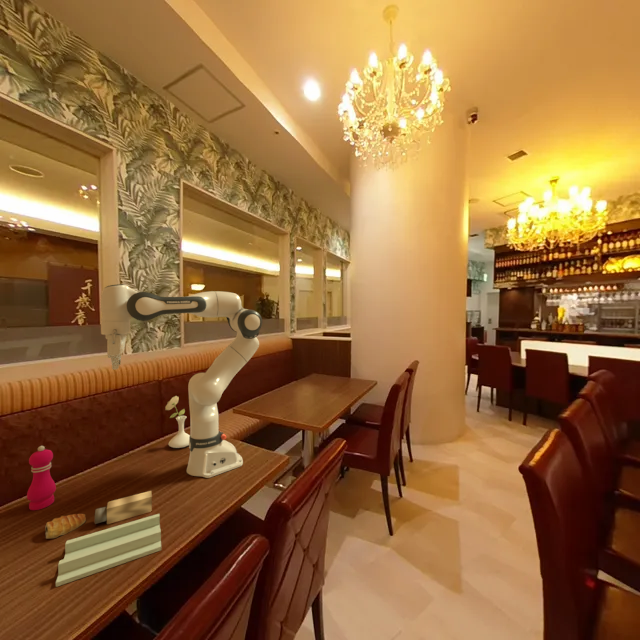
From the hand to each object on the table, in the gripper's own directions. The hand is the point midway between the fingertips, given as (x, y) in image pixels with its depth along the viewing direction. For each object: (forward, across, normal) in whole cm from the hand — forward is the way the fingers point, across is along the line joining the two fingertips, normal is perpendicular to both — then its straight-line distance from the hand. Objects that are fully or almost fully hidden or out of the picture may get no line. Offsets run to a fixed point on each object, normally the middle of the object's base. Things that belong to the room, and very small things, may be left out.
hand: (116, 367), depth 109 cm
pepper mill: (+45, +4, +22) cm, 51 cm away
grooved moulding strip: (+45, -32, -1) cm, 56 cm away
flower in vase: (+46, +31, -23) cm, 60 cm away
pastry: (+46, -15, +13) cm, 50 cm away
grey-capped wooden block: (+45, -17, -3) cm, 49 cm away
